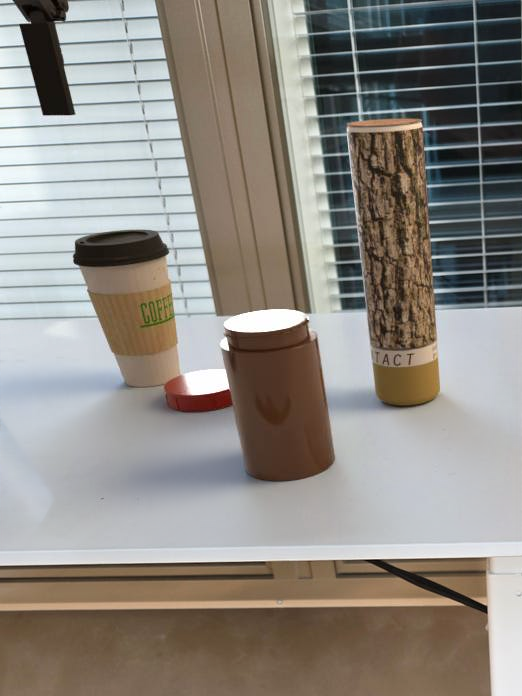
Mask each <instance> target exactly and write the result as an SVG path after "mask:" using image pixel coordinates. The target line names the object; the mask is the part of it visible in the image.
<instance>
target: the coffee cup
mask: <svg viewBox="0 0 522 696" xmlns="http://www.w3.org/2000/svg"><path fill="white" fill-rule="evenodd" d="M169 254H170V249H169V248H168V245H167V243H165V242H163V239H162V237H161V235H160V233H159V232H158V231H156V230H154V229H153V230H152V229H120V230H112V231H106V232H105V231H104V232H98V233H93V234H89V235H88V234H87V235H85V236H82V237H79V238H77V239H76V240H74V253H73V254H72V258H73V259H72V263H73V264H74V265H75V266H77V267H78V268H79V270H80V272H81V275H82V277H83V280H84V282H85V285H86V287H87V289H86V292H87V294H88V297H89V299H90V301H91V304H92V306H93V309H94V312H95V314H96V316H97V319H98V322H99V323H100V327H101V328H102V332H103V334H104V336H105V340H106V341H107V344H108V347H109V349H110V351H111V353H112V354H113V356H114V358H115V360H116V363H117V366H118V368H119V371H120V373H121V376H122V378H123V380H124V383H125V384H126V385H127V386H130V387H135V388H136V387H137V388H148V387H149V388H150V387H157V386H162V385H165V384H166V383H167V382H168V381H169V380H171V379H173V378H175V377H178V376H180V375H181V367H180V360H179V350H178V343H179V342H178V341H179V340H178V331H177V324H176V315H175V307H174V299H173V291H172V290H173V289H172V282H171V279H170V278H169V269H168V261H167V256H168V255H169Z"/></svg>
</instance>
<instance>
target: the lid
mask: <svg viewBox="0 0 522 696" xmlns="http://www.w3.org/2000/svg"><path fill="white" fill-rule="evenodd" d="M163 385H164V386H163V389H164V395H165V400H166V403H167V406H168V407H169V408H171V409H173V410H175V411H180V412H188V413H197V412H198V413H199V412H200V413H201V412H209V411H215V410H220V409H224V408H227V407H230V406H233V405H232V400H231V396H230V391H229V386H228V381H227V376H226V371H225V369H205V370H198V371H197V370H196V371H191V372H188V373H184V374H180V376H178V377H175V378H173V379H171V380H169V381H168V382H167V383H166V384H163Z"/></svg>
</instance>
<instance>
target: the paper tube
mask: <svg viewBox="0 0 522 696" xmlns="http://www.w3.org/2000/svg"><path fill="white" fill-rule="evenodd" d="M422 121H423V119H421V118H382V119H367V120H358V121H351V122H348V123H346V137H347V147H348V155H349V157H348V158H349V167H350V174H351V183H352V192H353V193H352V194H353V202H354V211H355V212H354V213H355V220H356V229H357V238H358V246H359V256H360V265H361V274H362V275H361V276H362V282H363V283H362V284H363V293H364V299H365V300H364V302H365V310H366V320H367V321H366V322H367V331H368V339H369V346H370V356H371V362H372V363H371V364H372V373H373V381H374V390H375V395H376V397H377V398H378V399H379V400H380V401H381V402H383V403H385V404H388V405H391V406H400V407H401V406H403V407H404V406H406V407H407V406H416V405H420V404H421V405H422V404H425V403H428V402H430V401H432V400H434V399H435V398H436V397H438V395H439V393H440V391H441V381H440V380H441V379H440V367H439V347H438V334H437V333H438V332H437V318H436V305H435V304H436V303H435V302H436V301H435V288H434V273H433V261H432V260H433V259H432V246H431V245H432V243H431V233H430V232H431V231H430V230H431V228H430V216H429V215H430V214H429V213H430V212H429V201H428V186H427V172H426V171H427V170H426V155H425V142H424V141H425V140H424V139H425V138H424V126H423V123H422Z"/></svg>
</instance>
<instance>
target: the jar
mask: <svg viewBox="0 0 522 696" xmlns="http://www.w3.org/2000/svg"><path fill="white" fill-rule="evenodd" d="M309 323H310V316H308V315H307V314H306V313H304V312H302V311H299V310H292V309H266V310H257V311H251V312H246V313H241V314H239V315H235V316H233V317H231V318H229V319H227V320H226V321H225V322H224V324H223V328H224V329H223V336H224V337H225V338H223V339H222V340H221V342H220V344H219V347H220V352H221V356H222V361H223V366H224V370H225V371H226V376H227V381H228V386H229V391H230V396H231V400H232V405H231V406H232V409H233V414H234V420H235V424H236V425H235V426H236V429H237V433H238V438H239V443H240V448H241V454H242V458H243V463H244V468H245V471H246V472H247V474H248V475H250V476H252V477H253V478H255V479H260V480H263V481H270V482H271V481H272V482H286V481H296V480H301V479H306V478H309V477H313V476H315V475H318V474H320V473H323V472H324V471H326V470H328V469H329V468H330V467H331V466H333V464H334V463H335V461H336V455H335V454H336V453H335V448H334V439H333V433H332V427H331V420H330V413H329V412H330V411H329V406H328V399H327V392H326V386H325V385H326V384H325V379H324V371H323V364H322V359H321V358H322V357H321V351H320V344H319V337H318V336H319V335H318V333H317V332H316V330H313V329H312V328H310V325H309Z"/></svg>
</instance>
